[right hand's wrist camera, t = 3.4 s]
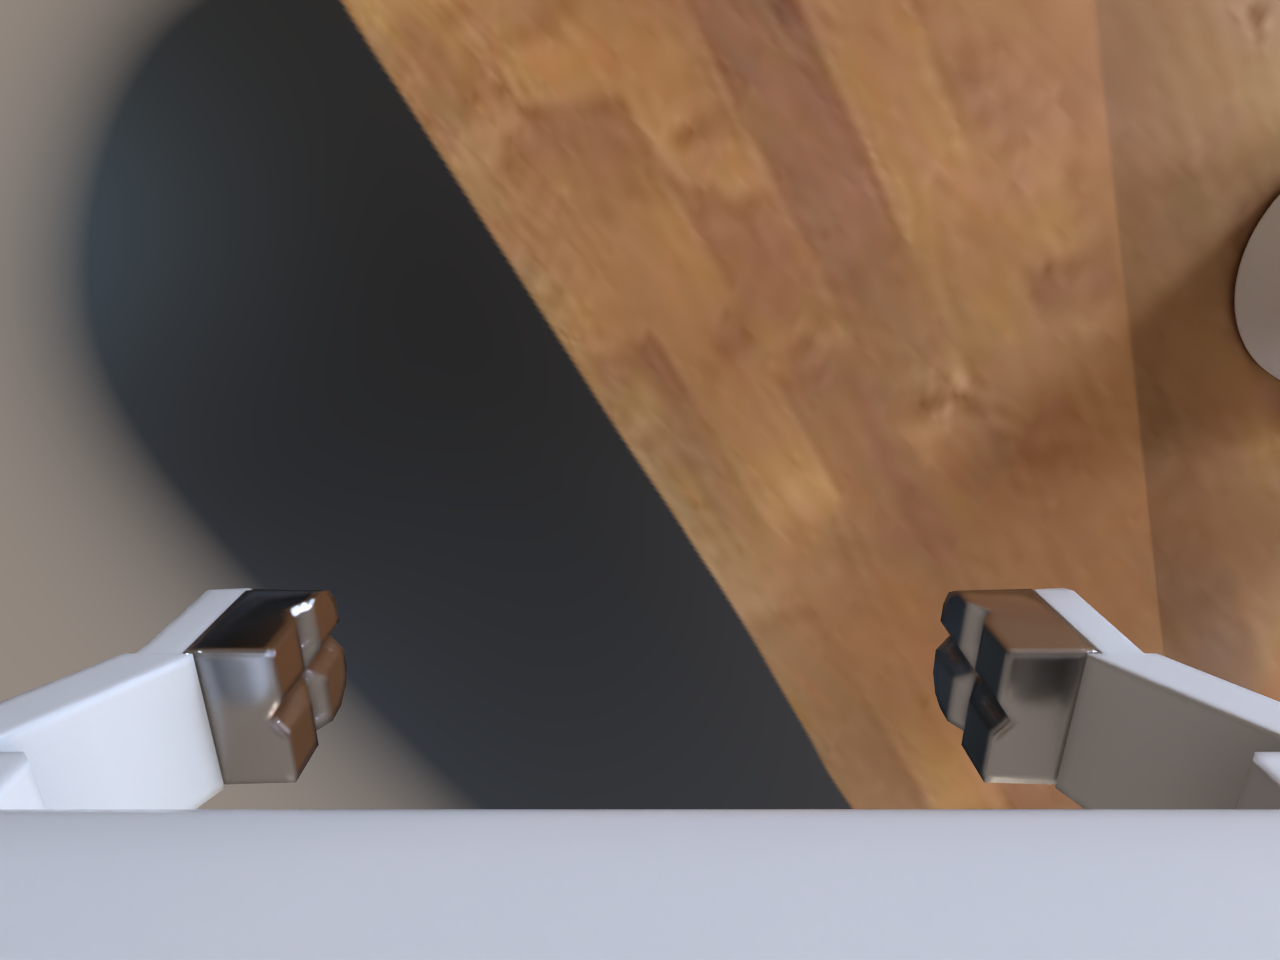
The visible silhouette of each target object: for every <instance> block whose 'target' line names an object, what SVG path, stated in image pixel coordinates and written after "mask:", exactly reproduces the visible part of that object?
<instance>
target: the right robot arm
mask: <svg viewBox="0 0 1280 960" xmlns="http://www.w3.org/2000/svg"><path fill="white" fill-rule="evenodd" d="M1234 304H1235V316H1236V322H1237V326H1238V330H1239V333H1240V336H1241V339H1242V341H1243V343H1244V345H1245V347H1246V349H1247V351H1248V352H1249V353H1250V355H1251V356H1252V358H1253V359H1254V360H1255V361H1256V362H1257V363H1258V364H1259V365H1260V366H1261V367H1262V368H1263V369H1264V370H1265V371H1267V372H1268V373H1269V374H1271V375H1272V376H1274V377H1275V378H1277V379H1278V380H1280V194H1279V195H1278V197H1277V198H1276V199H1275V200H1274V201H1273V203H1272V204H1271V205H1270V207H1269V208H1268V209H1267V211H1266V212H1265V213H1264V215H1263V216H1262V218H1261V219H1260V221H1259V223H1258V224H1257V226H1256V228H1255V230H1254V231H1253V233H1252V235H1251V237H1250V239H1249V242H1248V244H1247V246H1246V248H1245V251H1244V254H1243V256H1242V259H1241V263H1240V266H1239V270H1238V274H1237V279H1236V285H1235V301H1234ZM338 622H339V616H338V611H337V607H336V601H335V598H334V597H333V596H332V595H331V593H330V592H329V591H328V590H275V589H253V590H252V589H250V588H240V589H215V590H207V591H206V592H205V593H204V594H203V595H201V596H200V597H199V598H198V599H197V600H196V601H195V602H194V603H192V604H191V605H190V606H189V607H188V608H187V609H186V610H184V611H183V612H182V613H181V614H180V615H179V616H178V617H177V618H175V619H174V620H173V621H172V622H171V623H170V624H169V625H168V626H166V627H165V628H164V629H163V630H162V631H161V632H160V633H158V634H157V635H156V636H155V637H154V638H153V639H152V640H151V641H150V642H148V643H147V644H146V645H145V646H144V647H143V648H142V649H140V650H139V651H138V652H137V653H136V654H121V655H118V656H116V657H113V658H111V659H108V660H106V661H103V662H101V663H98V664H96V665H93V666H91V667H88V668H86V669H83V670H80V671H78V672H75V673H73V674H70V675H68V676H65V677H63V678H60V679H58V680H55V681H53V682H50V683H48V684H45V685H43V686H40V687H38V688H35V689H32V690H30V691H27V692H25V693H22V694H20V695H17V696H15V697H12V698H10V699H7V700H5V701H2V702H0V960H1280V702H1278V701H1275V700H1273V699H1270V698H1268V697H1265V696H1263V695H1260V694H1258V693H1255V692H1252V691H1250V690H1247V689H1245V688H1242V687H1240V686H1237V685H1235V684H1232V683H1230V682H1227V681H1225V680H1222V679H1220V678H1217V677H1215V676H1212V675H1210V674H1207V673H1205V672H1202V671H1199V670H1197V669H1194V668H1192V667H1189V666H1187V665H1184V664H1182V663H1179V662H1177V661H1174V660H1172V659H1169V658H1167V657H1164V656H1162V655H1159V654H1144V653H1143V652H1142V651H1141V650H1140V649H1138V648H1137V647H1136V646H1135V645H1134V644H1133V643H1132V642H1131V641H1129V640H1128V639H1127V638H1126V637H1125V636H1124V635H1123V634H1122V633H1120V632H1119V631H1118V630H1117V629H1116V628H1115V627H1114V626H1113V625H1111V624H1110V623H1109V622H1108V621H1107V620H1106V619H1105V618H1104V617H1102V616H1101V615H1100V614H1099V613H1098V612H1097V611H1096V610H1095V609H1093V608H1092V607H1091V606H1090V605H1089V604H1088V603H1087V602H1086V601H1084V600H1083V599H1082V598H1081V597H1080V596H1079V595H1078V594H1077V593H1075V592H1074V591H1072V590H1068V589H1065V588H1054V589H1004V590H962V591H953V592H949V593H948V595H947V597H946V600H945V602H944V604H943V610H942V616H941V622H942V624H943V625H944V627H945V628H946V630H947V631H948V633H949V635H950V636H949V637H948V638H947V639H946V640H945V641H944V642H943V643H942V644H941V645H940V646H939V647H938V648H937V649H936V654H935V662H934V670H933V675H934V685H935V694H936V697H937V700H938V703H939V706H940V708H941V710H942V712H943V714H944V715H945V717H946V719H947V721H949V722H950V723H952V724H953V725H955V726H957V727H958V728H960V729H962V730H963V731H964V733H963V739H962V746H963V748H964V749H965V751H966V753H967V754H968V756H969V758H970V759H971V761H972V763H973V764H974V766H975V768H976V769H977V771H978V773H979V774H980V776H981V778H982V779H983V781H984V782H989V783H1026V784H1056V786H1055V788H1057V789H1058V790H1060V791H1061V792H1062V793H1064V794H1065V795H1066V796H1068V797H1069V798H1070V799H1072V800H1073V801H1074V802H1076V803H1077V804H1078V805H1080V806H1081V807H1083V808H1084V809H196V808H198V807H199V806H200V805H202V804H203V803H204V802H206V801H207V800H209V799H210V798H211V797H213V796H214V795H215V794H217V793H218V792H219V791H221V790H222V789H223V788H224V784H253V783H288V782H296V781H297V779H298V778H299V776H300V774H301V773H302V771H303V769H304V768H305V766H306V764H307V763H308V761H309V759H310V758H311V756H312V754H313V753H314V751H315V749H316V748H317V746H318V739H317V733H316V731H317V730H318V729H320V728H322V727H323V726H325V725H326V724H328V723H330V722H331V721H333V719H334V717H335V715H336V714H337V712H338V710H339V708H340V706H341V703H342V699H343V695H344V691H345V687H346V660H345V653H344V649H343V648H342V647H341V646H340V645H339V644H338V643H337V642H336V641H335V640H334V639H333V638H332V637H331V636H330V635H331V633H332V631H333V630H334V628H335V627H336V625H337V624H338Z"/></svg>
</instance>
